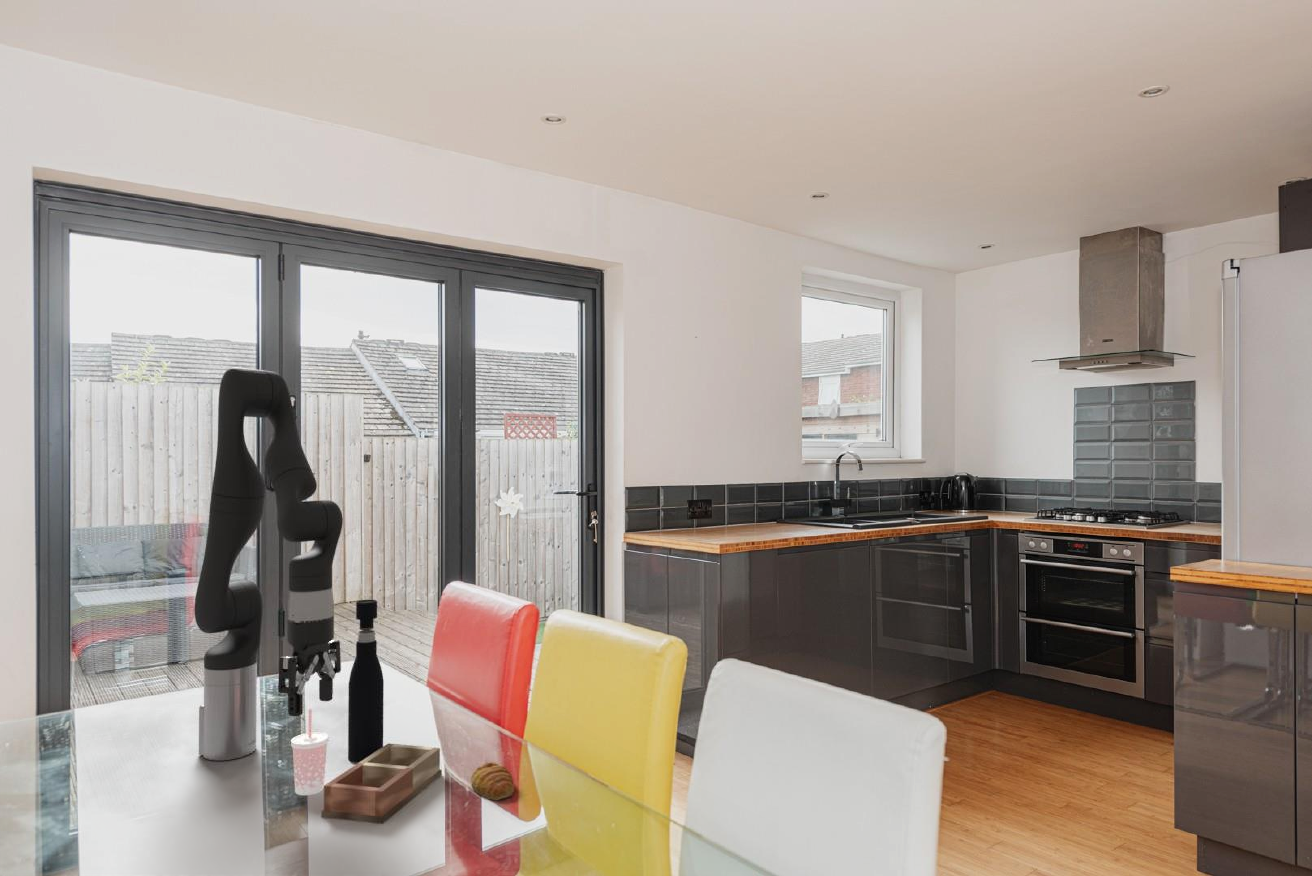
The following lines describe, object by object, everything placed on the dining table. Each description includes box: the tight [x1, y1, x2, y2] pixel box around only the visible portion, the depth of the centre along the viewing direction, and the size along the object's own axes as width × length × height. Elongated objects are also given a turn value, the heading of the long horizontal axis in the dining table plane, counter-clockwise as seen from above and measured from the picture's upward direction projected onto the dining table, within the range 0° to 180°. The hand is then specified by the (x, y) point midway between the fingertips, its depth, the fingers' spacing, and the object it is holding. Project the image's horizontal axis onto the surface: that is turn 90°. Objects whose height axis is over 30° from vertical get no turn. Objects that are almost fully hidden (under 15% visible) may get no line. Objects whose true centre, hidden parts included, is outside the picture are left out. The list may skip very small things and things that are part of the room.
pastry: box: [470, 762, 515, 801], centre depth 145 cm, size 9×7×4 cm
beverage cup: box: [290, 708, 330, 796], centre depth 145 cm, size 6×6×14 cm
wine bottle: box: [347, 599, 385, 764], centre depth 160 cm, size 6×6×30 cm
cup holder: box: [320, 743, 443, 825], centre depth 143 cm, size 11×20×5 cm, turn 168°
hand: (311, 707), depth 145 cm, fingers open, 8 cm apart
